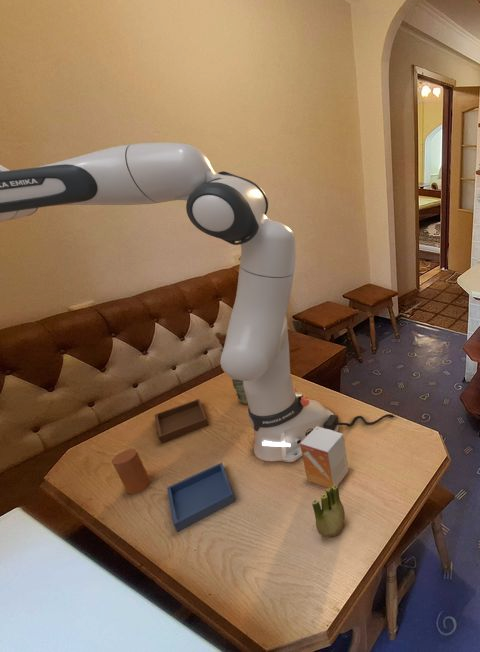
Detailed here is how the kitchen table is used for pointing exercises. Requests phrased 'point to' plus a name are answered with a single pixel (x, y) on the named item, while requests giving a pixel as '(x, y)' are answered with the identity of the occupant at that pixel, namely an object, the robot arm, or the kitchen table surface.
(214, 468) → the blue tray
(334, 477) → the small box
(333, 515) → the fennel bulb
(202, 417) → the walnut tray
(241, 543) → the kitchen table surface
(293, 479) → the kitchen table surface
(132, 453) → the spice tin
